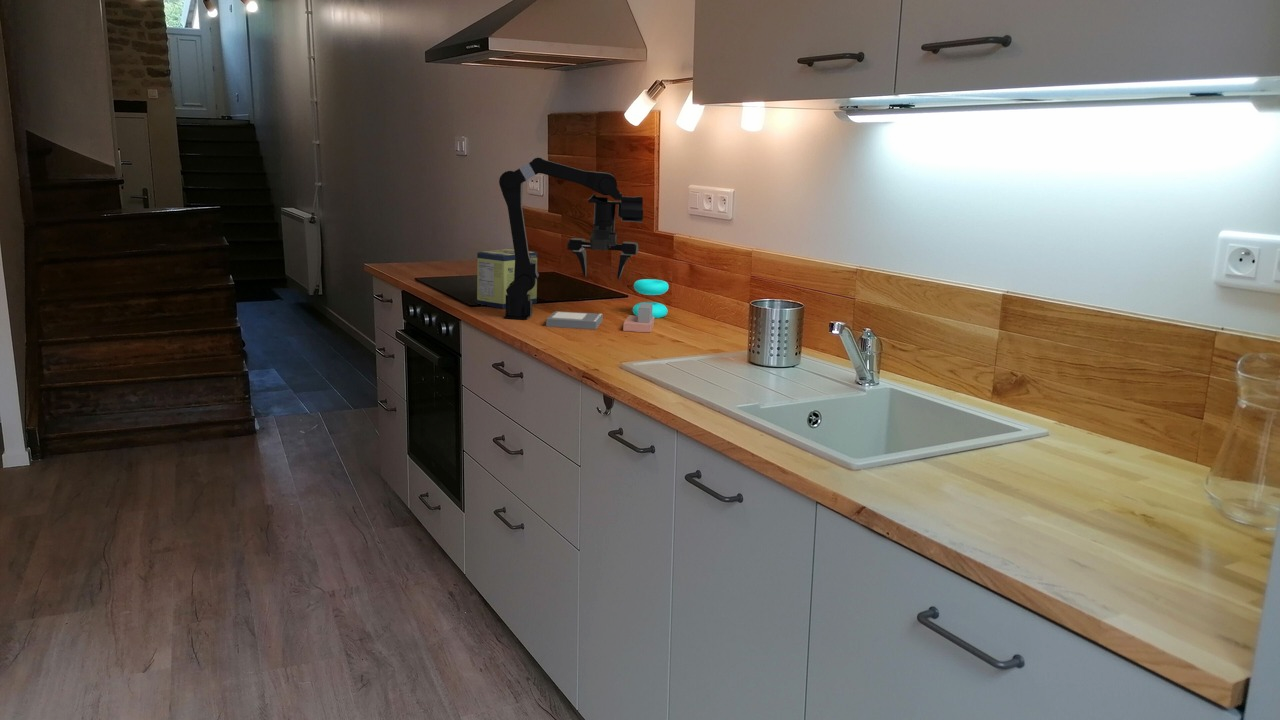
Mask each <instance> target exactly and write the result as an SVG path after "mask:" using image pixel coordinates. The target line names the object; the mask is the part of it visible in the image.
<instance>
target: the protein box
mask: <svg viewBox="0 0 1280 720" xmlns="http://www.w3.org/2000/svg"><path fill="white" fill-rule="evenodd" d="M528 251H529V256H530V258H531V261H532V262H534V261H537V262H538V251H532V250H528ZM476 257H477V259H476V260H477V265H476V266H477V267H476V269H477V273H476V277H477V278H476V282H477V283H476V285H477V286H476V288H477V289H476V298H477V299H476V301H477V302H476V304H477V303H479V304H483V305H487V306H486V307H489V306H490V308H495V309H500V310H505V308H506V295H507V292H506V289H507V288H508V286H509V284H511V283H512V282H513V281H514V269H515V253H514V248H505V249H495V250H486V251H478V252H477V255H476ZM537 290H538V279H537V280H536V283H535V286H534V287H533V288H532V289H531V290H530V291H528V293H527V294H528V295H530V300H532V305H534V304H537V297H538V293H537V292H538V291H537Z"/></svg>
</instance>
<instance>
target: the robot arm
mask: <svg viewBox="0 0 1280 720" xmlns="http://www.w3.org/2000/svg"><path fill="white" fill-rule="evenodd" d="M538 174H542V175H545V176H546V175H547V176H550V177H553V178H556V179H561V180H565V181H568V182H572V183H574V184H579V185H581V186H584V187H586V188H588V189H590V190H592V191H594V192H596V193H598V194H600V195H603V196H597V195H596V194H595V193H593V194H592V195H591V196H590V197H589V198H588V199H587V202H588V203H589V204H590V203H591V204H594V207H593V209H594V210H593V228H592V229H593V230H592V231H591V234H590V237H589V241H586V238H579V237H577V238H576V237H572V238H570V239H569V240H568V241H567V250H568V251H571V252H572V254H575V255H576V258H577V259H578V262H579V264H580V267H581V271H582V274H583V275H582V276H583V277H584V278H585V277H587V250H588V249H590V250H591V251H596V250H597V251H599V250H600V251H603V252H606V251H619V252H621V253H620V255H619V261H618V262H619V263H618V269H617V276H616V277H617V280H620V277H621V275H622V274H623V270H624V268H625V266H626V263H627V262H628V260H629V258H632V257H633V256H634V255H637V254H638V253H639V243H638V242H634V241H623V242H622V243H617V241H618V240H617V238H618V237H617V232H615V228H616V227H615V225H616V209H617V218H620V219H621V222H629V223H631V222H632V223H643V220H644V206H643V205H644V203H643V201H644V200H643V199H644V198H643V196H624V195H622V192H620V190H619V189H618V182H617V179H616V178H615V176H614V175H613V174H611V173H610V172H602V171H593V170H592V171H590V170H583V169H580V168H575V167H572V166H568V165H565V164H561V163H557V162H554V161H551V160H546V159H544V158H543V157H535V158H534V159H532V160H531V161H530V162H528V163H526V164H525V165H523V166H521V167H519V168H518V169H516V170H514V169H513V170H512V169H511V170H507V171H504V172H502V174H501V175H500V177H499V179H498V183H499V187H500V191H501V193H502V196H503V199H504V200H505V204H506V207H507V213H508V218H509V219H508V220H509V224H510V233H511V238H512V247H513V249H514V253H515V269H514V281H513V282H512V283H511V284H509V286H508V288H507V289H506V292H507V295H506V308H505V309H504V310H505V312H504V313H505V314H504V315H503V319H511V320H512V319H513V320H514V319H515V320H528V319H530V318H531V317H532V316H533V304H532V300H530V295H528V294H527V293H528V291H530V290H531V289H532V288H533V287H534V286H535V283H536V280H537V281H538V278H539V276H540V274H539V272H538V260H537V261H534V262H532V261H531V258H530V256H529V251H530V250H529V246H528V245H529V244H528V239H527V231H526V226H525V225H526V223H525V218H524V212H523V211H524V210H523V205H522V204H523V189H524V188H523V183H524V182H526V181H527V180H530V179H531V178H532V177H535V176H536V175H538ZM606 196H607V197H606ZM608 196H610V197H611V198H612V199H614V200H615V201H612V200H608V199H609V198H608ZM616 207H617V208H616ZM586 249H587V250H586Z"/></svg>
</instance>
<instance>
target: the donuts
mask: <svg viewBox="0 0 1280 720" xmlns="http://www.w3.org/2000/svg"><path fill="white" fill-rule="evenodd" d="M669 288H670V286H669V283H668V282H667V281H665V280H662V279H654V278H652V279H651V278H647V279H646V278H643V279H638V280H636V281H635V282H634V283H633V289H634V290H635V291H636V292H637V293H639V294H640V295H647V296H658V295H663V294H665V293H666V292H668V290H669ZM641 303H653V309H652V317H655V319H659V318H664V317H666V316H667V315H668V312H669V310H668V308H667V307H666V305H664V304H663V303H660V302H656V301H655V302H654V301H642V302H638V303H636V304H634V306H633V308H632V313H633V315H634V316H638V307H639V306H640V304H641Z"/></svg>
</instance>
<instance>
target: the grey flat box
mask: <svg viewBox="0 0 1280 720" xmlns="http://www.w3.org/2000/svg"><path fill="white" fill-rule="evenodd" d="M603 317H604V314H603V313H594V312H593V313H592V312H577V311H576V312H572V311H561V310H560V311H559V310H558V311H557V310H555V311H554V312H552V313H551V314H550V315H549V316H548V317H547V318H546V319H545V320H546V321H545V323H546V324H545V327H552V328H567V329H568V328H569V329H583V330H597V329H598V327H599V326H600V325H601V323H602V322H603V321H604V320H603Z"/></svg>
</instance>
